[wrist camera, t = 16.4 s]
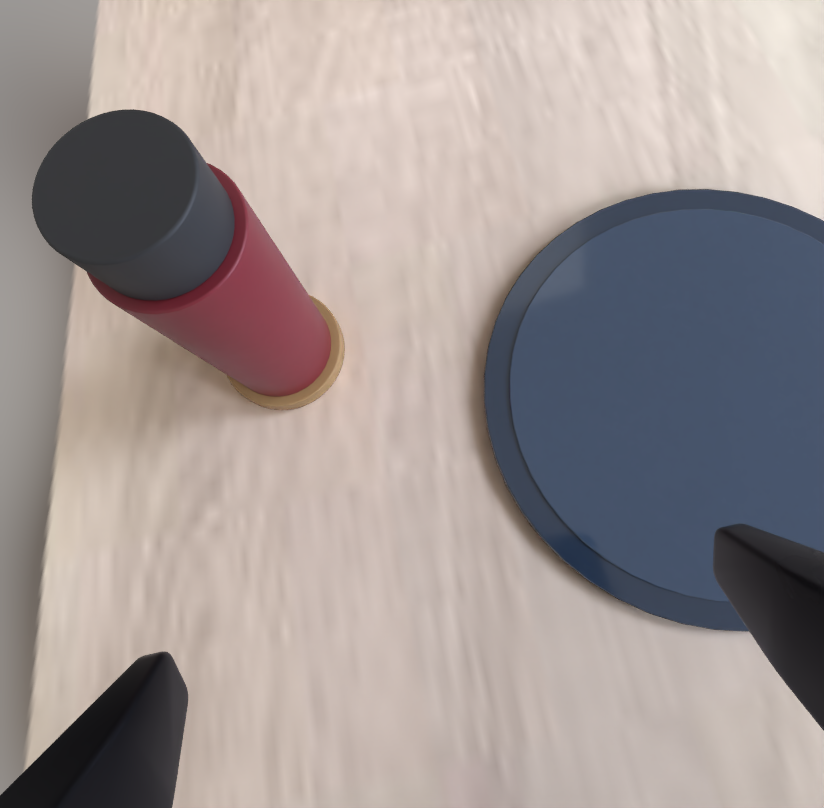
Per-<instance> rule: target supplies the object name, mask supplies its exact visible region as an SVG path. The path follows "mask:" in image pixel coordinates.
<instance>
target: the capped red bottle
mask: <svg viewBox="0 0 824 808" xmlns="http://www.w3.org/2000/svg"><path fill="white" fill-rule="evenodd" d="M32 209H33V214H34V218H35V221H36V224H37V226H38V228H39V230H40V232H41V234H42V236H43V237H44V239H45V240H46V241H47V242H48V243H49V245H50V246H51V247H52V248H54V249H55V250H56V251H57V252H59V253H60V254H61V255H63V256H65V257H66V258H68V259H69V260H70V261H72V262H73V263H75V264H76V265H78V266H79V267H81V268H82V269H84V270H85V271H87V273H88V276H89V278H90V280H91V281H92V283H93V285H94V286H95V287H96V289H97V290H98V291H99V292H100V293H101V294H102V295H103V296H104V297H105V298H106V299H107V300H109V301H110V302H112V303H113V304H115V305H116V306H118V307H119V308H121V309H123V310H124V311H126V312H127V313H129V314H131V315H132V316H134V317H135V318H137V319H139V320H140V321H142V322H143V323H145V324H147V325H148V326H150V327H151V328H153V329H155V330H156V331H158V332H159V333H161V334H163V335H164V336H166V337H167V338H169V339H171V340H172V341H174V342H175V343H177V344H179V345H180V346H182V347H183V348H185V349H187V350H188V351H190V352H191V353H193V354H195V355H196V356H198V357H200V358H201V359H203V360H204V361H206V362H208V363H209V364H211V365H212V366H214V367H216V368H217V369H219V370H220V371H222V372H224V373H225V374H226V375H227V377H228V379H229V381H230V382H231V384H232V385H233V386H234V388H235V389H236V390H237V391H238V392H239V393H240V394H241V395H243V396H244V397H246V398H247V399H249V400H250V401H252V402H254V403H256V404H258V405H260V406H263V407H266V408H270V409H275V410H288V409H294V408H299V407H302V406H304V405H307V404H309V403H311V402H313V401H315V400H316V399H317V398H319V397H320V396H322V395H323V394H324V393H325V392H326V391H327V390H328V389H329V388H330V387H331V385H332V384H333V383H334V381H335V380H336V378H337V376H338V374H339V372H340V369H341V367H342V363H343V359H344V339H343V335H342V332H341V329H340V327H339V325H338V323H337V321H336V319H335V317H334V316H333V314H332V313H331V312H330V310H329V309H328V308H327V307H326V306H325V305H324V304H323V303H322V302H320V301H319V300H317V299H316V298H314V297H312V296H310V295H308V293H307V292H306V290H305V289H304V287H303V286H302V284H301V283H300V281H299V280H298V278H297V277H296V275H295V274H294V272H293V271H292V269H291V268H290V266H289V264H288V263H287V261H286V260H285V258H284V257H283V255H282V254H281V252H280V251H279V249H278V248H277V246H276V245H275V243H274V242H273V240H272V239H271V237H270V236H269V234H268V233H267V231H266V230H265V228H264V226H263V225H262V223H261V222H260V220H259V219H258V217H257V216H256V214H255V213H254V211H253V210H252V208H251V207H250V205H249V204H248V202H247V201H246V199H245V198H244V196H243V195H242V193H241V192H240V190H239V189H238V187H237V186H236V184H235V183H234V182H233V181H232V180H231V179H230V178H229V177H228V176H227V175H226V174H225V173H224V172H222V171H221V170H219V169H218V168H216V167H214V166H212V165H211V164H208V163H206V162H205V160H204V159H203V157H202V156H201V155H200V153H199V152H198V150H197V149H196V147H195V146H194V145H193V143H192V142H191V140H190V139H189V138H188V136H187V135H186V134H185V133H184V132H183V131H182V129H181V128H179V127H178V126H177V125H176V124H174V123H173V122H171V121H169V120H168V119H166V118H164V117H162V116H160V115H157V114H155V113H151V112H147V111H142V110H118V111H111V112H107V113H103V114H100V115H97V116H95V117H92V118H90V119H88V120H86V121H84V122H82V123H80V124H79V125H77V126H75V127H74V128H72V129H71V130H70V131H69V132H67V133H66V134H65V135H64V136H63V137H62V138H61V139H60V140H59V141H57V142H56V144H55V145H54V146H53V147H52V148H51V150H50V151H49V152H48V154H47V155H46V157H45V158H44V160H43V162H42V164H41V166H40V168H39V170H38V172H37V175H36V178H35V182H34V186H33V193H32Z"/></svg>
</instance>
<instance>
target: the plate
mask: <svg viewBox="0 0 824 808" xmlns="http://www.w3.org/2000/svg"><path fill="white" fill-rule="evenodd" d="M484 407H485V415H486V422H487V430H488V434H489V438H490V442H491V445H492V449H493V453H494V456H495V460H496V462H497V464H498V467H499V469H500V472H501V474H502V476H503V479H504V481H505V484H506V486H507V488H508V490H509V491H510V493H511V495H512V497H513V498H514V500H515V502H516V503H517V505H518V507H519V509H520V510H521V512H522V514H523V515H524V516H525V518H526V519H527V520H528V522H529V523H530V524H531V525H532V527H533V528H534V529H535V531H536V532H537V533H538V535H539V536H540V537H541V538H542V539H543V540H544V541H545V543H546V544H547V545H548V546H549V547H550V548H551V549H552V550H553V551H554V552H555V553H556V554H557V555H558V556H559V557H560V558H561V559H562V560H563V561H564V562H566V563H567V564H568V565H569V566H571V567H572V568H573V569H574V570H575V571H577V572H578V573H579V574H580V575H582V576H583V577H584V578H585V579H587V580H588V581H589V582H591V583H593V584H594V585H596V586H598V587H599V588H601V589H602V590H604V591H606V592H607V593H609V594H611V595H612V596H614V597H615V598H617V599H619V600H621V601H624V602H626V603H628V604H630V605H632V606H634V607H637V608H639V609H641V610H643V611H645V612H647V613H650V614H653V615H656V616H659V617H662V618H665V619H669V620H672V621H675V622H678V623H681V624H686V625H692V626H697V627H703V628H708V629H714V630H729V631H749V630H748V628H747V627H746V625H745V624H744V622H743V621H742V619H741V618H740V616H739V615H738V613H737V612H736V610H735V608H734V607H733V605H732V604H731V602H730V601H729V599H728V598H727V596H726V595H725V593H724V592H723V590H722V589H721V587H720V586H719V584H718V582H717V580H716V578H715V575H714V572H713V552H714V535H715V532H716V530H717V529H719V528H721V527H725V526H730V525H734V524H746V525H749V526H752V527H755V528H758V529H760V530H763V531H766V532H769V533H772V534H774V535H777V536H780V537H783V538H785V539H788V540H791V541H794V542H797V543H799V544H802V545H805V546H808V547H810V548H813V549H816V550H819V551H822V552H824V221H823V220H821V219H819V218H817V217H815V216H812V215H810V214H808V213H806V212H803V211H801V210H799V209H797V208H794V207H792V206H789V205H786V204H782V203H779V202H776V201H773V200H770V199H767V198H763V197H758V196H754V195H749V194H744V193H739V192H731V191H720V190H710V189H698V190H675V191H667V192H660V193H652V194H648V195H644V196H640V197H636V198H632V199H628V200H625V201H622V202H620V203H617V204H615V205H612V206H609V207H607V208H604V209H602V210H599V211H597V212H596V213H594V214H592V215H590V216H588V217H586V218H584V219H583V220H581V221H579V222H577V223H575V224H574V225H573V226H571V227H570V228H568V229H567V230H566V231H564V232H563V233H561V234H560V235H559V236H557V237H556V238H555V239H554V240H552V241H551V242H550V243H549V244H548V245H547V246H546V247H545V248H544V249H543V250H542V251H541V252H540V253H538V254H537V255H536V256H535V258H534V259H533V260H532V261H531V263H530V264H529V265H528V266H527V267H526V269H525V270H524V271H523V272H522V274H521V275H520V276H519V278H518V279H517V281H516V283H515V284H514V286H513V287H512V289H511V291H510V292H509V294H508V295H507V297H506V299H505V301H504V304H503V306H502V308H501V310H500V313H499V315H498V317H497V320H496V322H495V325H494V329H493V332H492V336H491V339H490V343H489V346H488V351H487V359H486V366H485V373H484Z"/></svg>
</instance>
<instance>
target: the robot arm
mask: <svg viewBox="0 0 824 808" xmlns="http://www.w3.org/2000/svg"><path fill="white" fill-rule="evenodd" d="M713 572H714V575H715V578H716V580H717V582H718V584H719V586H720V587H721V589H722V590H723V592H724V593H725V595H726V596H727V598H728V599H729V601H730V602H731V604H732V605H733V607H734V608H735V610H736V612H737V613H738V615H739V616H740V618H741V619H742V621H743V622H744V624H745V625H746V627H747V628H748V630H749V631H750V633H751V634H752V636H753V637H754V639H755V640H756V642H757V643H758V645H759V646H760V648H761V650H762V651H763V653H764V654H765V656H766V657H767V658H768V660H769V661H770V663H771V664H772V666H773V667H774V668H775V670H776V671H777V672H778V674H779V675H780V676H781V678H782V679H783V680H784V682H785V683H786V684H787V685H788V687H789V688H790V689H791V690H792V692H793V693H794V694H795V695H796V697H797V698H798V699H799V700H800V702H801V703H802V704H803V705H804V707H805V708H806V709H807V710H808V712H809V713H810V714H811V715H812V717H813V718H814V719H815V720H816V722H817V723H818V724H819V725H820V727H821V728H822V729H823V730H824V552H822V551H819V550H816V549H813V548H810V547H808V546H805V545H802V544H799V543H797V542H794V541H791V540H788V539H785V538H783V537H780V536H777V535H774V534H772V533H769V532H766V531H763V530H760V529H758V528H755V527H752V526H749V525H746V524H734V525H730V526H725V527H721V528H719V529H717V530H716V532H715V535H714V552H713ZM187 706H188V691H187V687H186V684H185V682H184V680H183V678H182V676H181V674H180V672H179V670H178V668H177V666H176V664H175V662H174V660H173V658H172V656H171V655H170V654H169V653H168V652H158V653H154V654H149V655H145V656H142V657H140V658H138V659H137V660H136V661H135V662H134V663H133V664H132V665H131V666H130V667H129V668H128V669H127V670H126V671H125V672H124V673H123V674H122V675H121V676H120V677H119V678H118V679H117V680H116V681H115V682H114V683H113V684H112V685H111V686H110V687H109V688H108V689H107V690H106V691H105V692H104V693H103V694H102V695H101V696H100V697H99V698H98V699H97V700H96V701H95V702H94V703H93V704H92V705H91V706H90V707H89V708H88V709H87V710H86V711H85V712H84V713H83V714H82V715H81V716H80V717H79V718H78V719H77V720H76V721H75V722H74V723H73V724H72V725H71V726H70V727H69V728H68V729H67V730H66V731H65V732H64V733H63V734H62V735H61V736H60V737H59V738H58V739H57V740H56V741H55V742H54V743H53V744H52V745H51V746H50V747H49V748H48V749H47V750H46V751H45V752H44V753H43V754H42V755H41V756H40V757H39V758H38V759H37V760H36V761H35V762H33V763H32V764H31V765H30V766H29V767H28V768H27V769H26V770H25V771H24V772H23V773H22V775H20V776H19V777H18V778H17V779H16V780H15V781H14V782H13V783H12V784H11V785H10V786H9V788H7V789H6V790H5V791H4V792H3V794H1V795H0V808H172V805H173V799H174V793H175V787H176V780H177V774H178V767H179V760H180V753H181V747H182V740H183V733H184V726H185V720H186V713H187Z"/></svg>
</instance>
